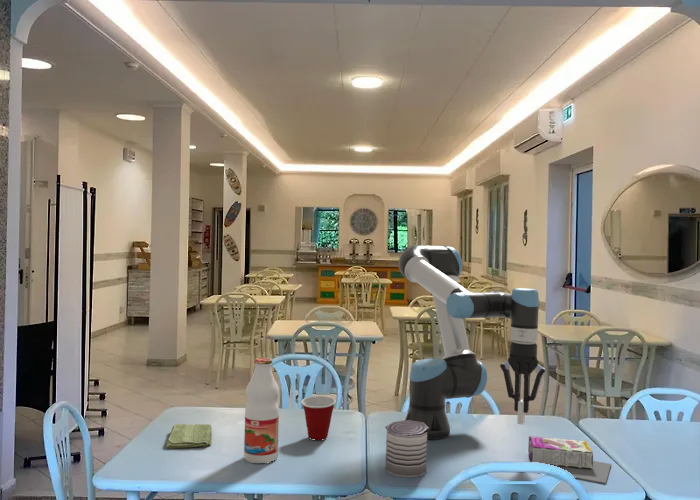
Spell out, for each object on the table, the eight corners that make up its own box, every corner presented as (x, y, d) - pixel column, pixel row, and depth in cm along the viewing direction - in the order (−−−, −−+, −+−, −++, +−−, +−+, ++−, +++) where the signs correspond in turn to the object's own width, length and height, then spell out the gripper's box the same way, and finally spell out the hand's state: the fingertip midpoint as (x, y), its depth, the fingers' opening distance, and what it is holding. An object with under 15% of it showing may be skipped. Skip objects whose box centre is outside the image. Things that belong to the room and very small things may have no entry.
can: (433, 475, 160) (434, 430, 160) (393, 479, 156) (394, 433, 156) (416, 460, 171) (418, 418, 171) (378, 463, 167) (380, 420, 167)
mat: (527, 469, 166) (527, 467, 166) (538, 452, 180) (538, 451, 180) (605, 484, 156) (605, 482, 156) (611, 465, 171) (611, 463, 171)
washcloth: (164, 451, 174) (165, 440, 174) (171, 432, 192) (171, 422, 192) (211, 449, 177) (211, 438, 177) (213, 431, 194) (214, 421, 194)
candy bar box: (528, 434, 180) (586, 440, 176) (527, 451, 180) (586, 457, 176) (531, 446, 169) (594, 452, 165) (531, 464, 169) (593, 470, 165)
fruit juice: (283, 455, 172) (286, 357, 172) (267, 466, 163) (269, 363, 163) (254, 451, 175) (257, 354, 175) (237, 461, 166) (239, 360, 166)
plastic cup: (294, 440, 185) (294, 401, 185) (309, 431, 195) (310, 394, 195) (326, 445, 181) (327, 406, 181) (340, 435, 191) (341, 398, 191)
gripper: (498, 341, 174) (495, 422, 175) (544, 346, 168) (541, 430, 169) (504, 337, 181) (501, 416, 181) (549, 342, 175) (546, 423, 175)
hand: (521, 422), depth 175 cm, fingers closed
